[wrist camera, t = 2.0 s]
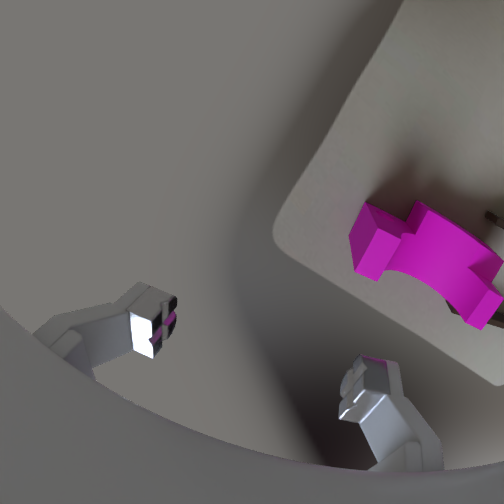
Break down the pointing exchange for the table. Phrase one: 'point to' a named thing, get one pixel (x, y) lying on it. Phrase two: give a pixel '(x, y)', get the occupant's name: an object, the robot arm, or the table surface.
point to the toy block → (429, 257)
